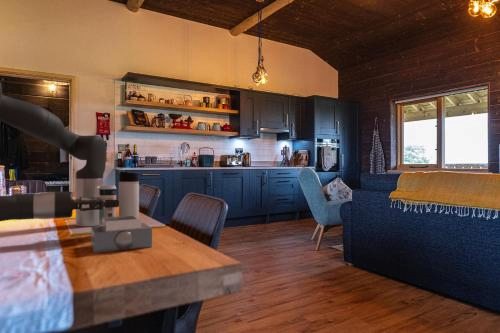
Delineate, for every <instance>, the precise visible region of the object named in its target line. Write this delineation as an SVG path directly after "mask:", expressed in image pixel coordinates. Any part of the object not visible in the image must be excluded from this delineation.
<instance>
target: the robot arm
mask: <svg viewBox="0 0 500 333" xmlns="http://www.w3.org/2000/svg"><path fill="white" fill-rule="evenodd" d="M2 86H3V85H2V83H1V81H0V121H1V122H3V123H5V124H7V125H8V126H11V127H13V128H15V129H18V130H19V131H21V132H23V133H25V134H27V135H29V136H31V137H33V138H36V139H38V140H41V141H43V142H45V143H47V144H49V145H52V146H54V147H56V148H58V149H61V150H62V151H64V152H65V153H67V154H69V155H70V156H72V157H73V158H75V159H77V160H79V161H85V165H84V166H83V167H82V168H80V169H78V170H76V172H75V199H73V192H72V191H47V192H46V191H45V192H44V191H43V192H36V193H15V194H12V195H0V222H6V221H12V220H14V221H17V220H18V221H21V220H51V219H53V220H55V219H67V218H68V219H70V218H72V217H73V211H74V210H75V226H76V227H96V226H102V225H101V224H99V209H100V210H102V209H104V208H110V207H116V208H119V199H116V200H104V199H103V200H99V189H100V187H101V185H104V173H105V172H106V166H107V165H106V162H107V145H106V141H105V139H104V138H103V137H102V136H100V135H93V134H92V135H79V134H76V133H74V132H72V131H70V130H68V129H67V128H66V127H65V126H64V125H65V124H64V123H63V121H62V120H61V119H60V118H59V117H58V116H57V115H56V114H54V113H52V112H50V111H49V110H48V109H46V108H43V107H42V106H40V105H37V104H34V103H32V102H27V101H25V100H20V99H18V98H13V97H10V96H7V95H5V94H3V87H2Z"/></svg>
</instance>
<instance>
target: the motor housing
mask: <svg viewBox="0 0 500 333" xmlns="http://www.w3.org/2000/svg"><path fill="white" fill-rule="evenodd" d="M90 228H91V231H90V236H91V237H90V243H91V244H90V246H91V248H92V252H93V254H99V253H101V254H102V253H108V252H119V251H126V250H127V251H128V250H136V249H145V248H152V247H153V227H151V226H150V225H148V224H147V223H145V222H142V219H141V218H140V217H139V218H138V217H137V216H135V215H131V216H119V215H118V216H117V215H116V217H102V225H96V226H90Z"/></svg>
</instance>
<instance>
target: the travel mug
mask: <svg viewBox="0 0 500 333" xmlns="http://www.w3.org/2000/svg"><path fill="white" fill-rule="evenodd" d="M139 183H140V173H137V172H127V171H119V173H118V200H119V206H118V216H131V215H135V216H137V217H138V218H140V184H139Z"/></svg>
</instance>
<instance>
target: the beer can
mask: <svg viewBox="0 0 500 333" xmlns="http://www.w3.org/2000/svg"><path fill="white" fill-rule="evenodd" d="M103 199H104V200H117V187H116V185H115V184H103V185H101V187H100V189H99V200H103ZM116 216H117V207H110V208H104V209H102V210H100V209H99V224H101V225H100V226H102V217H116Z"/></svg>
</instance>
